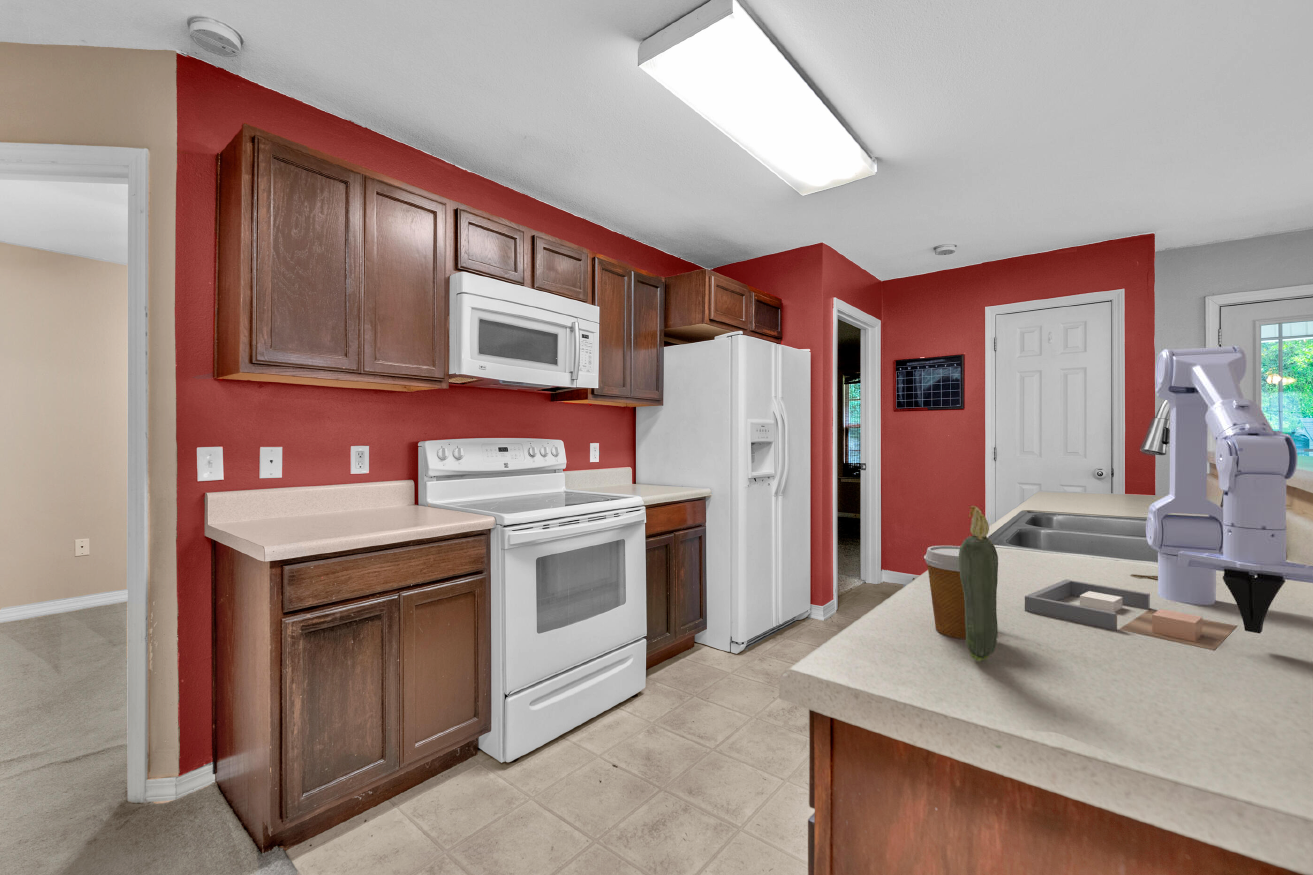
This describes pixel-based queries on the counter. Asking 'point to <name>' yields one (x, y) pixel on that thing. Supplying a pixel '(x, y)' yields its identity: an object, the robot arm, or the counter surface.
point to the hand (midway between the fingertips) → (1253, 630)
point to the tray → (1050, 606)
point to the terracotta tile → (1177, 624)
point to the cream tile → (1101, 601)
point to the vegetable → (979, 587)
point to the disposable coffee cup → (946, 590)
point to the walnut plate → (1209, 639)
